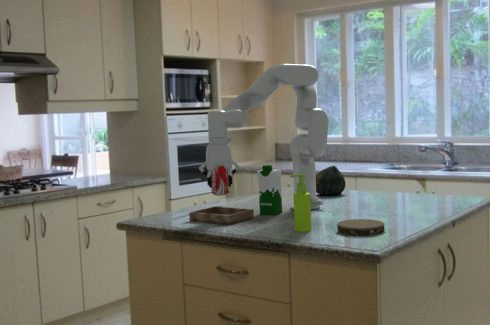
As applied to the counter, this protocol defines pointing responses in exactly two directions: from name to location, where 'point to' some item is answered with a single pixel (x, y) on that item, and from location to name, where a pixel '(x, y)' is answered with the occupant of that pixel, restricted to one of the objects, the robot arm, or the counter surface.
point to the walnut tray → (221, 215)
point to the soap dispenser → (302, 206)
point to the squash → (330, 181)
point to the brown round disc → (360, 227)
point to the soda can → (220, 181)
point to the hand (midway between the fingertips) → (220, 186)
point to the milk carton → (270, 190)
